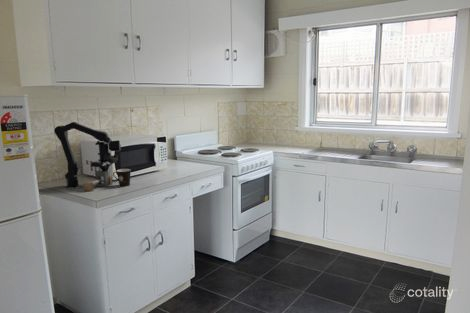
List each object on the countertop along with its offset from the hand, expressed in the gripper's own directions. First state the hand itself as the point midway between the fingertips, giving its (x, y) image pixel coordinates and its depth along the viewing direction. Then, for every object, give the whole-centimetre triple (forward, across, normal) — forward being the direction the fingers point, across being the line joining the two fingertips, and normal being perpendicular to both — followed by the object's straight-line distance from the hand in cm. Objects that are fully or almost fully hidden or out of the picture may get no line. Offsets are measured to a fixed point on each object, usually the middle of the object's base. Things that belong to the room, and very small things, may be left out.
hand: (105, 175), depth 235 cm
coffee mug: (+7, +3, -11) cm, 13 cm away
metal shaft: (+6, -7, 0) cm, 9 cm away
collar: (+6, -3, 0) cm, 7 cm away
